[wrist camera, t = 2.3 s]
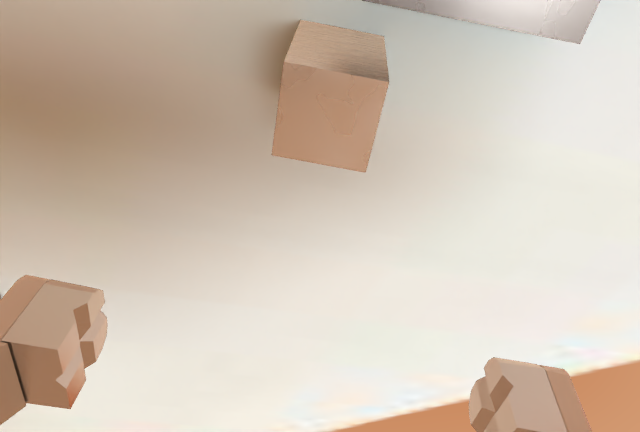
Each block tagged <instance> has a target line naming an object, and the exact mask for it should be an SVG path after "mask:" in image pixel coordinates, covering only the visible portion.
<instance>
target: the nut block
mask: <svg viewBox="0 0 640 432" xmlns="http://www.w3.org/2000/svg"><path fill="white" fill-rule="evenodd" d="M388 85H389V76H388V67H387V58H386V49H385V39H384V36H381V35H376V34H371V33H366V32H361V31H356V30H351V29H346V28H340V27H335V26H330V25H325V24H320V23H315V22H310V21H305V20H300V22H299V25H298V27H297V30H296V32H295V35H294V37H293V40H292V42H291V45H290V47H289V50H288V52H287V55H286V57H285V60H284V64H283V71H282V79H281V87H280V95H279V102H278V110H277V118H276V126H275V133H274V141H273V149H272V155H274V156H280V157H285V158H291V159H296V160H301V161H307V162H312V163H317V164H323V165H328V166H333V167H339V168H344V169H350V170H355V171H360V172H366V169H367V165H368V161H369V157H370V153H371V150H372V146H373V142H374V138H375V134H376V130H377V127H378V123H379V119H380V115H381V111H382V107H383V104H384V100H385V96H386V92H387V88H388Z"/></svg>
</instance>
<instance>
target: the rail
mask: <svg viewBox="0 0 640 432" xmlns="http://www.w3.org/2000/svg"><path fill="white" fill-rule="evenodd" d="M363 1H368V2H373V3H378V4H383V5H388V6H393V7H398V8H403V9H408V10H413V11H418V12H423V13H428V14H433V15H438V16H443V17H448V18H453V19H458V20H463V21H468V22H473V23H478V24H483V25H488V26H492V27H497V28H502V29H507V30H512V31H517V32H522V33H527V34H532V35H537V36H542V37H547V38H552V39H557V40H562V41H567V42H572V43H577V44H580V43H581V41H582V39H583V36H584V34H585V32H586V30H587V28H588V26H589V24H590V22H591V20H592V17H593V15H594V13H595V11H596V9H597V7H598V5H599V3H600V1H601V0H363Z"/></svg>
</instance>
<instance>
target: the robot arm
mask: <svg viewBox="0 0 640 432" xmlns="http://www.w3.org/2000/svg"><path fill="white" fill-rule="evenodd" d="M104 303H105V299H104V293H103V290H100V289H96V288H91V287H86V286H81V285H76V284H71V283H66V282H61V281H56V280H50V279H45V278H40V277H35V276H29V275H25V276H23V277H21V278H20V279H18V280H17V281H16V282H15V283H14V285H13V286H12V287H11V288H10V289H9V291H8V292H7V293H6V294H5V295H4V297H3V298H2V299H1V300H0V425H1V424H2V423H4V422H5V421H6V420H8V419H9V418H10V417H12V416H13V415H14V414H16V413H17V412H18V411H20V410H21V409H22V408H24V407H25V406H26V403H30V404H37V405H45V406H52V407H59V408H67V409H71V407H72V405H73V403H74V401H75V400H76V398H77V396H78V394H79V392H80V390H81V389H82V387H83V385H84V383H85V381H86V376H85V370H84V369H85V368H86V367H88V366H90V365H91V364H93V363H94V362H96V361H97V359H98V357H99V355H100V353H101V351H102V349H103V345H104V342H105V339H106V336H107V326H108V324H107V317H106V316H105V315H104V314H103V312H102V311H101V308H102V306H103V305H104ZM484 370H485V375H486V376H485V377H483V378H481V379H479V380H477V381H476V382H475V384H474V386H473V388H472V390H471V394H470V400H469V415H470V421H471V425H472V426H473V428H474V429H475V430H476V431H477V432H592V430H591V428H590V425H589V423H588V420H587V418H586V415H585V413H584V410H583V408H582V405H581V403H580V400H579V398H578V396H577V393H576V391H575V389H574V386H573V383H572V381H571V378H570V376H569V374H568V373H567V372H566V371H565V369H560V368H554V367H548V366H542V365H537V364H532V363H526V362H520V361H514V360H508V359H501V358H495V357H493V358H491V359H490V360H488V362H487V364H486V365H485V367H484Z"/></svg>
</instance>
